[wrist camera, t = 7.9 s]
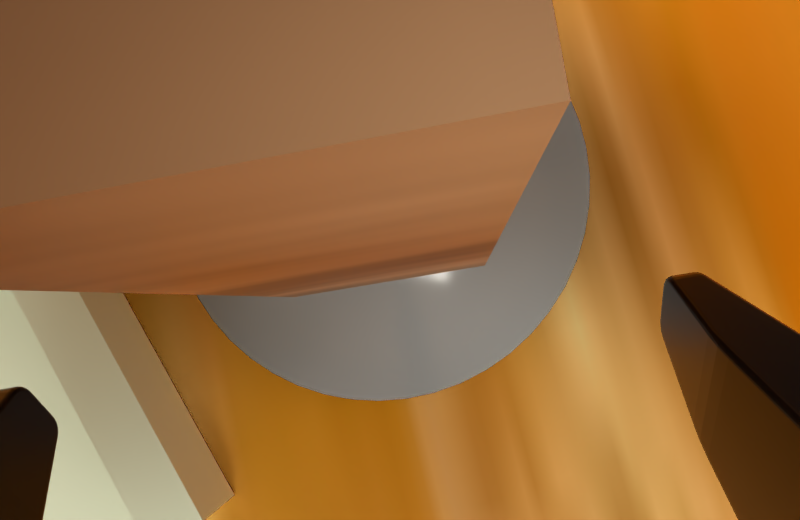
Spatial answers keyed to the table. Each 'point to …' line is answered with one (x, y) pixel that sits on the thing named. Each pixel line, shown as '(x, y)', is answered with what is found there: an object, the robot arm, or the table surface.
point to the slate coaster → (428, 301)
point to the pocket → (107, 410)
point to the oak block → (266, 140)
